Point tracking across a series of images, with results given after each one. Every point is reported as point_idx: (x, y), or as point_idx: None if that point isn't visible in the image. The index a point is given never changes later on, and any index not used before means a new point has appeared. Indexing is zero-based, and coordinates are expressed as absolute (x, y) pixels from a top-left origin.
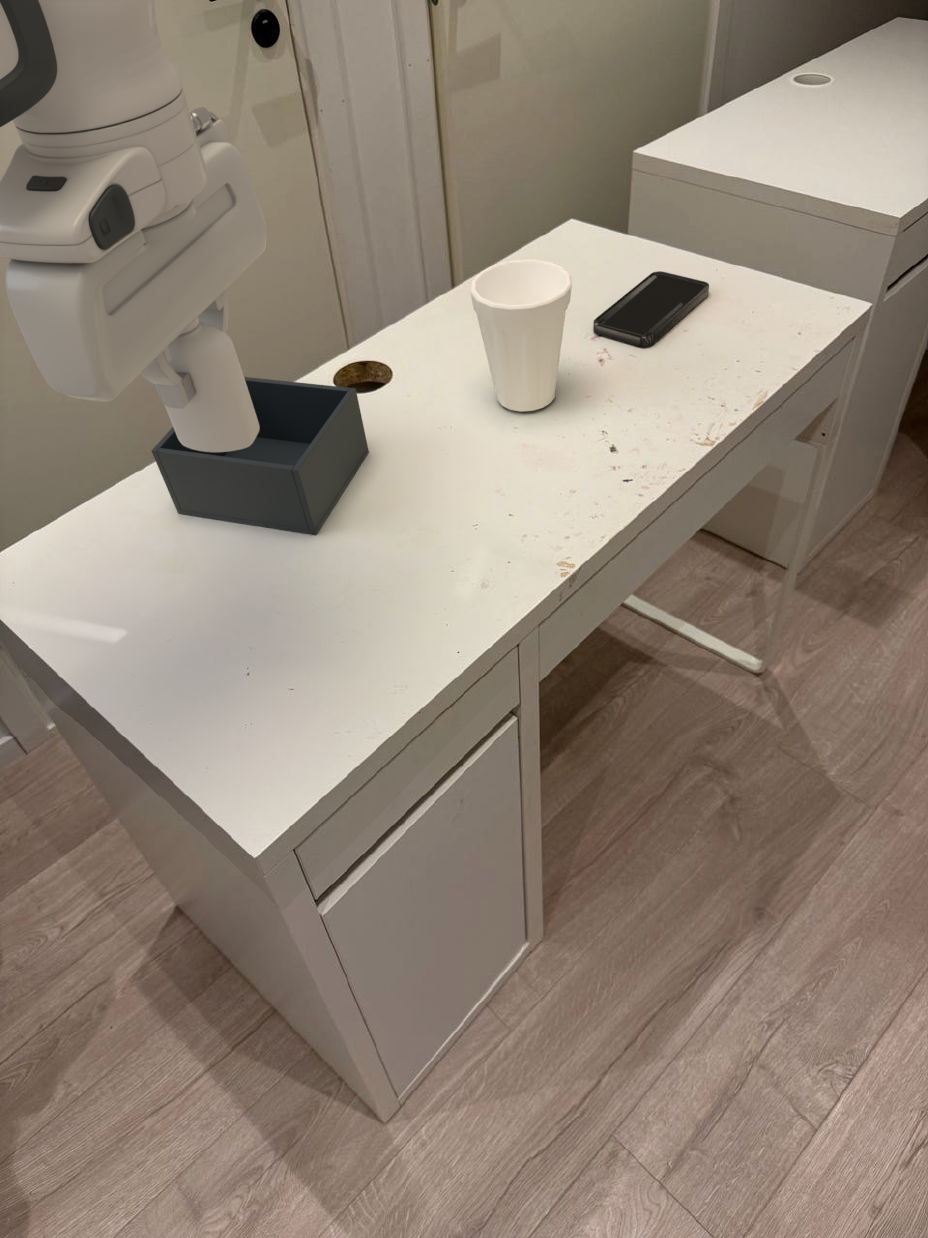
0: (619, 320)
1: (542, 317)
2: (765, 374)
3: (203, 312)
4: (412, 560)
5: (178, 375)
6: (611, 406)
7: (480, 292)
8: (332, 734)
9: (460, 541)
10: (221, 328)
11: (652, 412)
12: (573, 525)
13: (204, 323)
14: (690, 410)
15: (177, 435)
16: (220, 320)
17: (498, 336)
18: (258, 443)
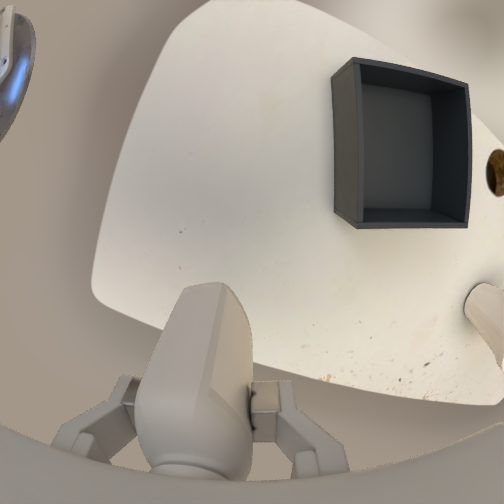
0: None
1: (497, 362)
2: (467, 396)
3: (304, 449)
4: (319, 296)
5: (126, 443)
6: (461, 348)
7: None
8: (160, 306)
9: (343, 319)
10: (284, 453)
11: (453, 368)
12: (362, 370)
13: (290, 436)
14: (450, 382)
15: (178, 298)
16: (293, 460)
17: (497, 327)
18: (425, 115)
